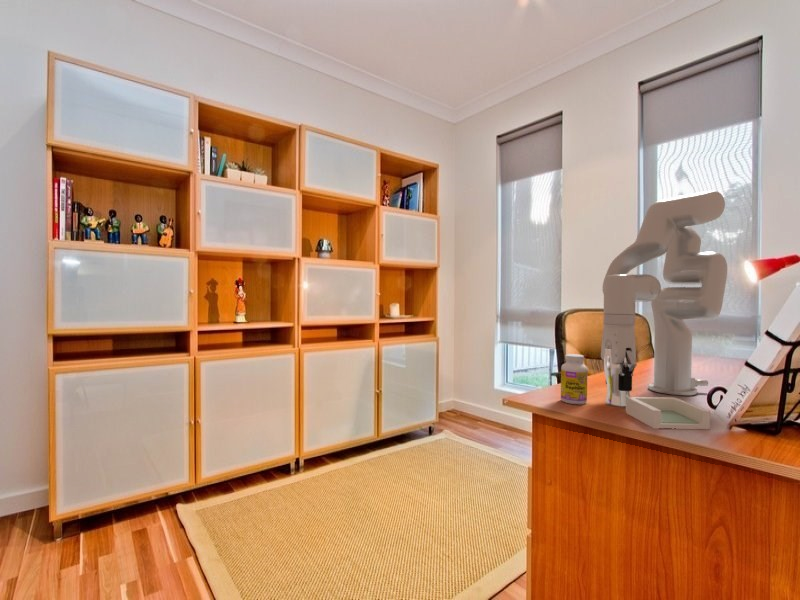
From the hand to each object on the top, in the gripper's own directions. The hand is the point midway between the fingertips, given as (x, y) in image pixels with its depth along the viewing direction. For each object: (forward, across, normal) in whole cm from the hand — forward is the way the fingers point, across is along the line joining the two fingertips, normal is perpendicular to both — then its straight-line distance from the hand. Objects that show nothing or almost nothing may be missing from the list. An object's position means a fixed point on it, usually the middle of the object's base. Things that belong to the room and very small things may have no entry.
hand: (618, 386), depth 111 cm
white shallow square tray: (+5, +14, +4) cm, 15 cm away
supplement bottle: (+5, -2, -11) cm, 12 cm away
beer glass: (+5, 0, 0) cm, 5 cm away
